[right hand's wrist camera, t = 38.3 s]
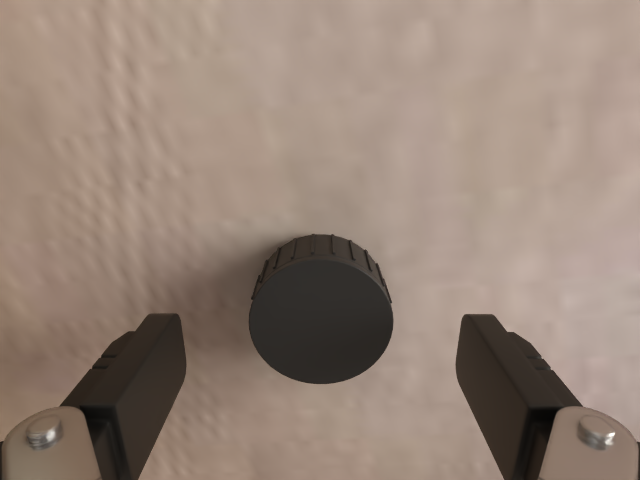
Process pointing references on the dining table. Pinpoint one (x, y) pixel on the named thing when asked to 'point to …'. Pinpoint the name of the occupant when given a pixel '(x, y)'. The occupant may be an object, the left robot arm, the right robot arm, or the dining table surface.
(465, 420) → the dining table surface
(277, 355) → the cap
